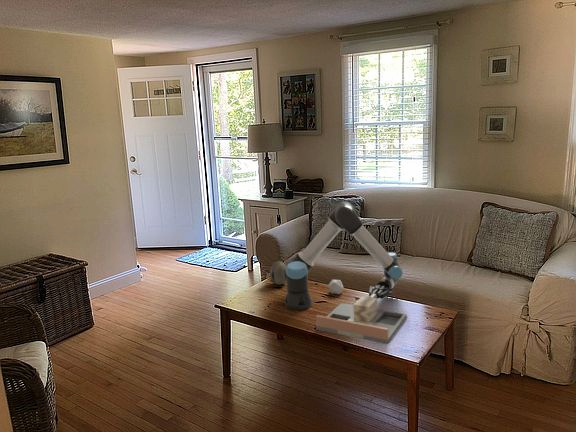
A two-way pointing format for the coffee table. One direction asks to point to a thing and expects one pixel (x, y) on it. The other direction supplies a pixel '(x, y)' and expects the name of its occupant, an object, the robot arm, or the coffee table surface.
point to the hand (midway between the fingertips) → (370, 300)
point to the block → (365, 309)
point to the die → (335, 286)
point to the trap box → (361, 324)
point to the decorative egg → (278, 273)
